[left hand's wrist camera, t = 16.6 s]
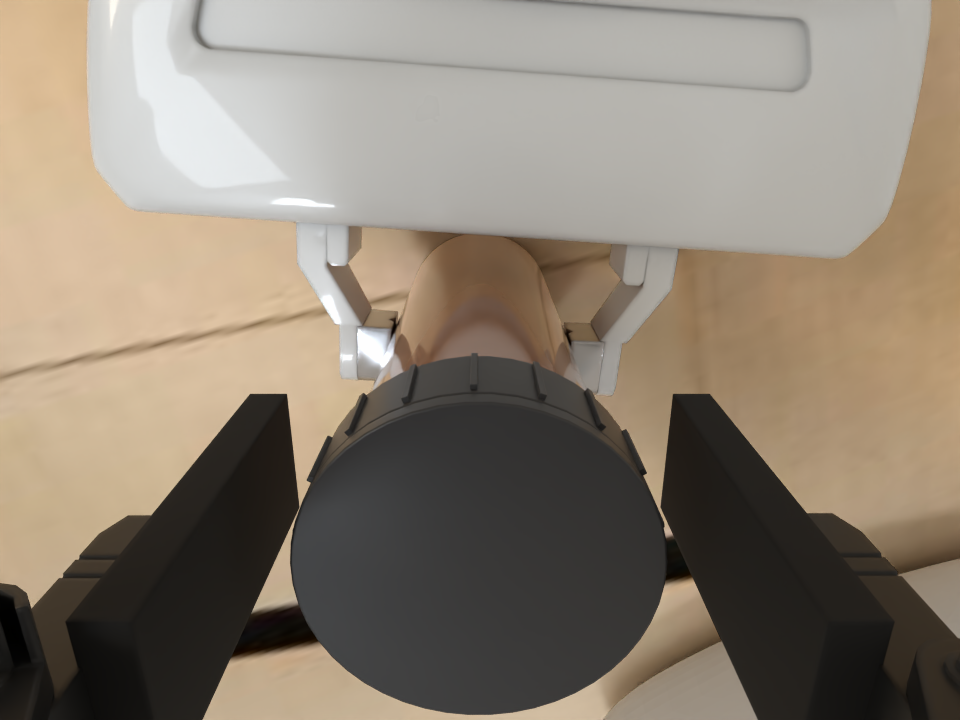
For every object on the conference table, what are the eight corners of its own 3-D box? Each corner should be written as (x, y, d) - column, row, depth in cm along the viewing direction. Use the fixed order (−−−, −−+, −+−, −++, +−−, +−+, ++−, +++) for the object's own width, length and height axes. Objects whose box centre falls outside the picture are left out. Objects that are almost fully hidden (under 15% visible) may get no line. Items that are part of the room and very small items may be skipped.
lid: (660, 607, 13) (689, 688, 11) (361, 655, 13) (343, 741, 12) (622, 321, 11) (650, 363, 9) (271, 388, 11) (231, 441, 10)
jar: (430, 374, 27) (369, 690, 12) (396, 248, 25) (280, 441, 10) (557, 348, 26) (654, 642, 12) (533, 218, 24) (611, 374, 10)
